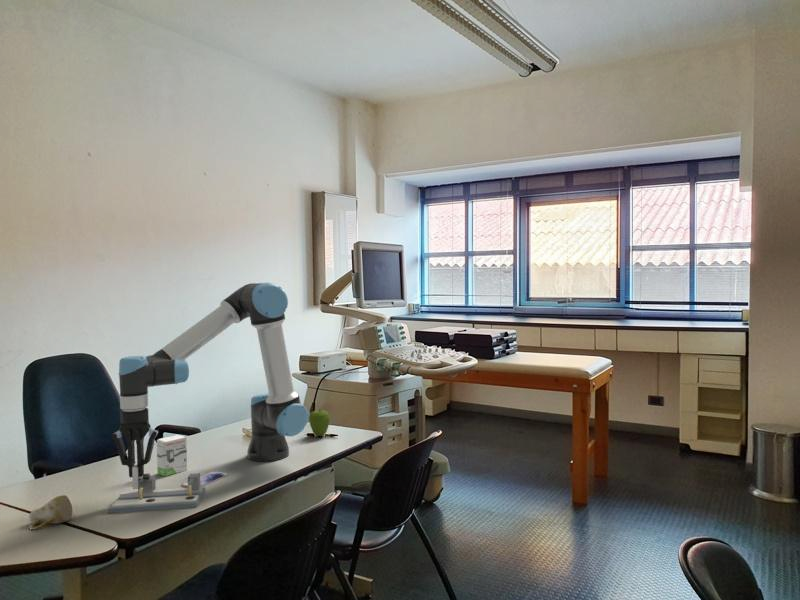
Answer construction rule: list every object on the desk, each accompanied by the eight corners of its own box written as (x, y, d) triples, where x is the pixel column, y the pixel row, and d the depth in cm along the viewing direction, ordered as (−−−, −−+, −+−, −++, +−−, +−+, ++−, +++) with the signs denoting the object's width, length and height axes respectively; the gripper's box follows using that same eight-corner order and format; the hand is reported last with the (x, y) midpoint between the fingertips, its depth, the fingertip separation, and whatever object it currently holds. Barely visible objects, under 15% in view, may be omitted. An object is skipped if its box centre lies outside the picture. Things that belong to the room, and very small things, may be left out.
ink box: (164, 476, 192) (163, 441, 192) (156, 474, 195) (155, 439, 195) (187, 470, 199) (187, 436, 199) (180, 467, 202) (179, 434, 202)
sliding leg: (155, 490, 174) (155, 472, 173) (148, 499, 166) (147, 480, 166) (141, 491, 173) (141, 473, 173) (133, 500, 165) (132, 481, 165)
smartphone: (230, 473, 193) (196, 488, 180) (230, 476, 193) (196, 490, 180) (213, 470, 196) (179, 484, 183) (213, 473, 196) (179, 487, 183)
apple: (312, 433, 245) (312, 406, 245) (332, 433, 245) (331, 406, 244) (307, 439, 237) (306, 411, 236) (327, 439, 236) (326, 411, 236)
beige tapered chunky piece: (32, 520, 158) (53, 486, 161) (64, 536, 158) (84, 501, 160) (17, 524, 151) (38, 488, 153) (50, 541, 151) (71, 504, 153)
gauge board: (205, 491, 178) (205, 470, 178) (196, 507, 165) (196, 484, 165) (123, 496, 175) (123, 475, 174) (108, 513, 162) (107, 490, 162)
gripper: (160, 405, 175) (163, 481, 176) (115, 407, 174) (118, 484, 174) (153, 410, 168) (156, 490, 168) (106, 412, 166) (109, 493, 167)
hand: (136, 487), depth 171 cm, fingers closed
